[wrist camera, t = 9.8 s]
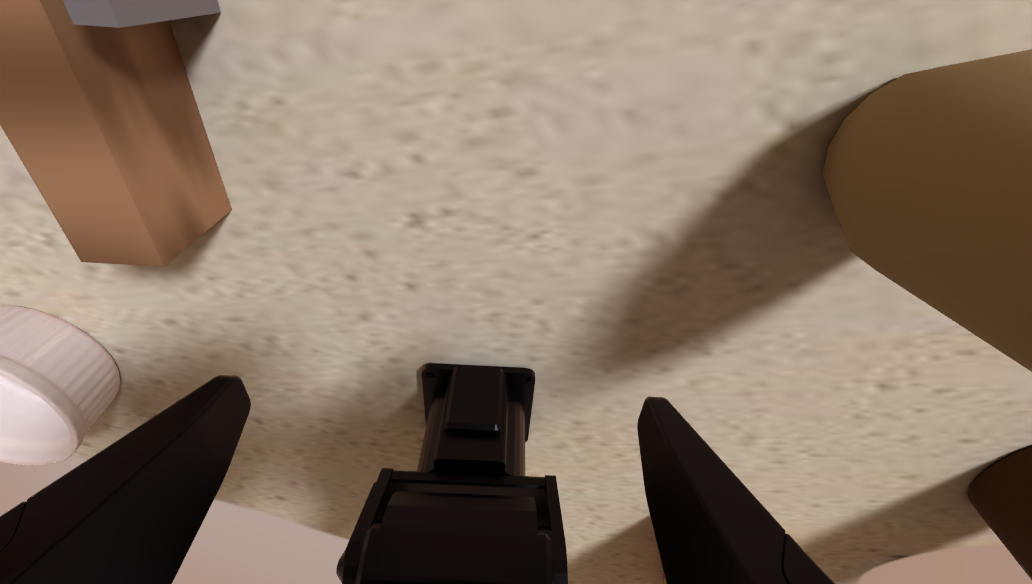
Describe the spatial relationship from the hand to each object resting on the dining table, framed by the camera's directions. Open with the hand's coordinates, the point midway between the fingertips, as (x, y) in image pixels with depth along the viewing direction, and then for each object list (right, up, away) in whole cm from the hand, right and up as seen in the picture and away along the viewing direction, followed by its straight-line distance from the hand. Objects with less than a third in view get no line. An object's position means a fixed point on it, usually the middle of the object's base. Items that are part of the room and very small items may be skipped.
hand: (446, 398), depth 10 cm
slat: (-13, +11, +7) cm, 18 cm away
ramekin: (-26, -1, +16) cm, 30 cm away
